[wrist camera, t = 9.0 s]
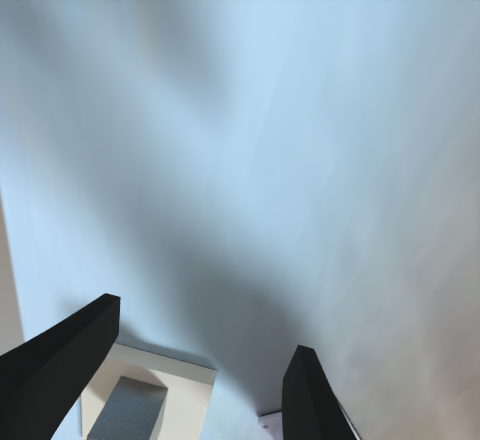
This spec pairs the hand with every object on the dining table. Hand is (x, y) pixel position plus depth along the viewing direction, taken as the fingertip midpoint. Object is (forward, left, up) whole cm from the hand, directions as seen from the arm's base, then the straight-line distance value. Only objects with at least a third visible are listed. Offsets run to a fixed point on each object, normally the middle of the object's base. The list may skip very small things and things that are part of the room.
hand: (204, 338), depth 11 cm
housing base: (-14, +19, -9) cm, 25 cm away
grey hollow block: (-11, +16, -8) cm, 21 cm away
